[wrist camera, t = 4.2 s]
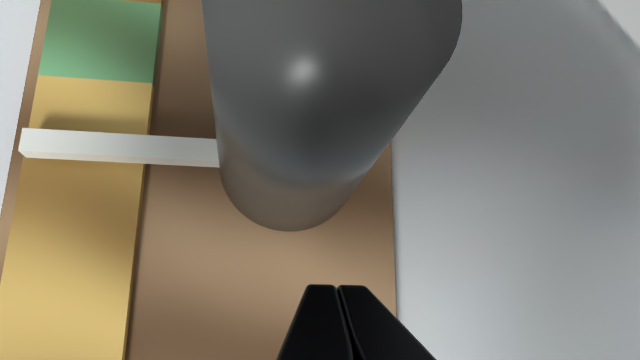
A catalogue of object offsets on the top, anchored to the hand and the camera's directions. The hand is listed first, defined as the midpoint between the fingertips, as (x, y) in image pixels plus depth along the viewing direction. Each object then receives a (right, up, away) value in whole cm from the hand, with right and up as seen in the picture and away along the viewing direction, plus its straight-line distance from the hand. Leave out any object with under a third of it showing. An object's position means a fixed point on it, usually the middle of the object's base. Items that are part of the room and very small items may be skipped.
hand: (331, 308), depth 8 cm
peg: (-4, +5, +10) cm, 12 cm away
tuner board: (-4, +2, +11) cm, 12 cm away
